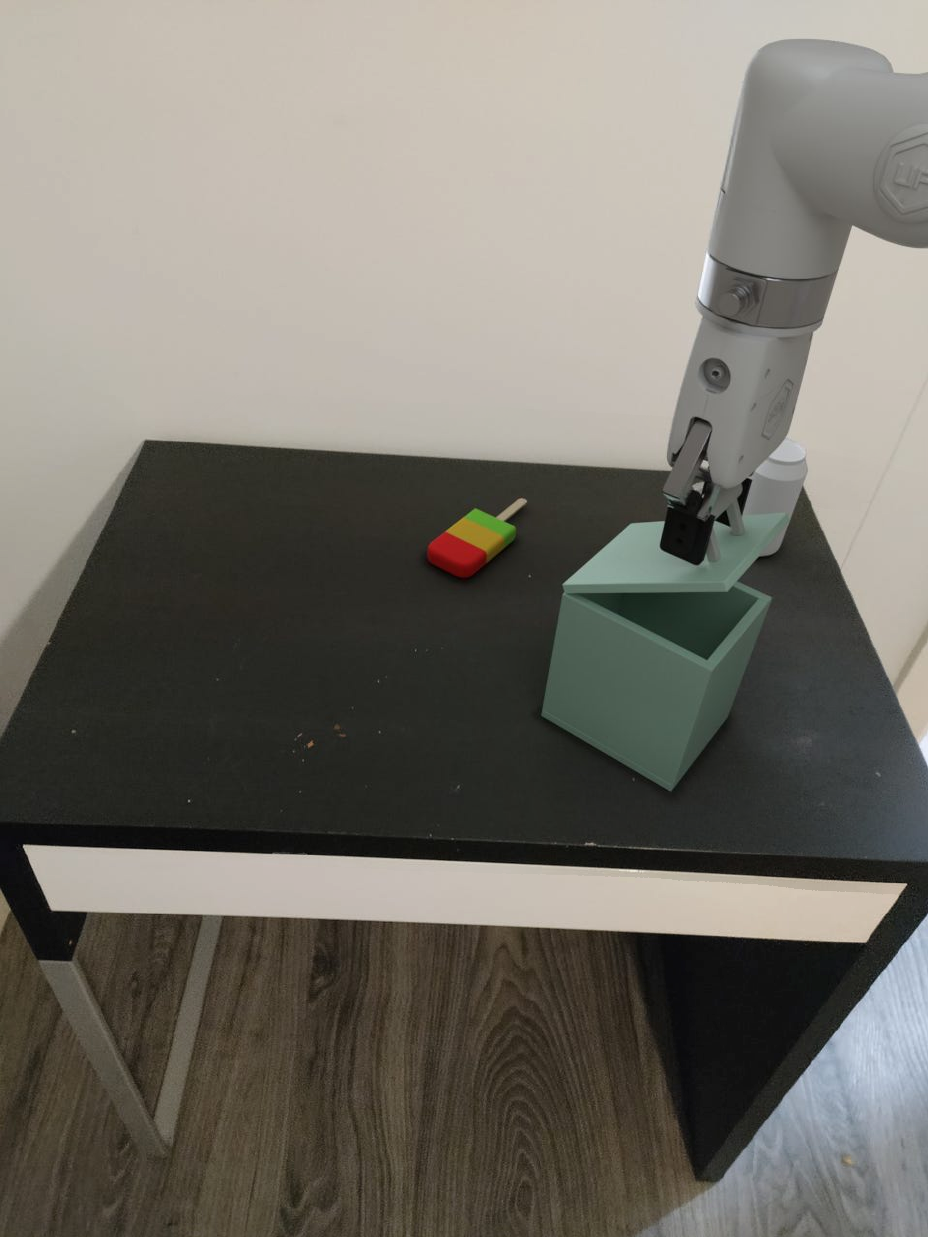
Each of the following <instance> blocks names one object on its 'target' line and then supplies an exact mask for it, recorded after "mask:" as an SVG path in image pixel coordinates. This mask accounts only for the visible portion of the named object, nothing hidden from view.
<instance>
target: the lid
mask: <svg viewBox="0 0 928 1237" xmlns="http://www.w3.org/2000/svg"><path fill="white" fill-rule="evenodd" d="M741 493H742V484H741V483H740V484H739V485H737V486H735V487H733V488H730V489H725V488H722V485H721V487H720V490H719V493H718V495H717V498H716V501H715V504H714V506H713V509H712V512H711V514H712V515H714V516H716V517H715V520H716V519H717V518H718V517H719V516H720V515H721V514H722V513H723V512H724V511H725V510H727V514H728V518H729V522H730V526H731V527H729V526H726V525H724V524H722V523H719V522H717V521H714V525H713V528H712V532H711V536H710V539H709V543H708V547H707V551H706V554H705V558H704V561H703V562H702V563H701V564H700V565H693V564H691V563H689V562H687V561H684V560H682V559H680V558H678V557H675V556H673V555H671V554H669V553H666V552H664V551H662V550H661V548H660V541H661V536H662V532H663V528H664V523H665V520H662V521H649V522H648V521H647V522H646V521H645V522H633V523H629V525H627V526H626V527H625V528H624V529H623V530H622V531H621V532H619V533H618V535H616V536H615V537H614V538H613V539H612V540H611V541H609V543H607V544H606V545H605V546H604V547H603V548H602V549H601V550H600V551H598V552H597V553H596V554H595V555H593V557H591V558H590V559H589V560H588V561H587V562H585V564H584V565H582V566H581V567H580V568H579V569H578V570H577V571H576V572H575V573H574V574H572V575H571V576H570V577H569V578H568V579H567V580H565V582H563V583H562V584H561V585H562V586H561V587H562V589H563V593H564V592H565V593H658V592H727V591H728V590H729V589H730V588H731V587H732V586H733V585H734V584H735V583H736V581H737V582H738V581H739V580H740V578H741V577H742V576H743V575H744V573H745V572H746V571H747V570H749V568H750V567H751V566H752V565H753V563H754V562H755V561H756V560H757V559H758V558H759V557H761V556H760V554H761V553H762V552H763V551H764V550H765V549H766V548H767V547H768V545H769V544H770V543H771V542H772V541H773V540H774V539H775V538H776V536H777V535H778V534H779V533H780V532H781V531H782V530H783V529H784V527H785V526H786V525H787V524H788V523H789V524H790V522H789V517H788V513H787V512H786V513H772V514H758V515H744V516H741V512H740V509H739V505H738V501H737V498H738V497H739V496H740V495H741ZM703 497H704V495H703V496H702V498H703Z"/></svg>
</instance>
